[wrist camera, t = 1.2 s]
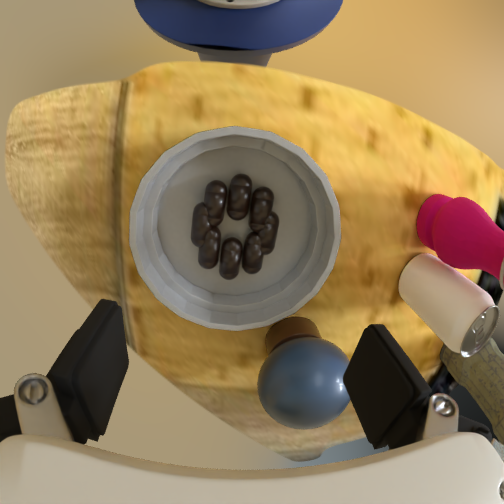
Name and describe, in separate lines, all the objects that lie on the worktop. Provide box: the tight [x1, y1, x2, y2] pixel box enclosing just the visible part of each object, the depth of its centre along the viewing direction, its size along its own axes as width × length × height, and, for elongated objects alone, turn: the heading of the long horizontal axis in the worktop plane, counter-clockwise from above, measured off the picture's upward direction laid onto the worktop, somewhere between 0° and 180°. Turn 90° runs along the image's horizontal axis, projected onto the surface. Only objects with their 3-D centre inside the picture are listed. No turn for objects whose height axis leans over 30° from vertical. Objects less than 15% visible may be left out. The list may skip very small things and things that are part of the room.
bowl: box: [129, 126, 341, 331], centre depth 22 cm, size 16×16×4 cm
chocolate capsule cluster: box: [191, 173, 279, 280], centre depth 23 cm, size 9×7×2 cm
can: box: [399, 253, 500, 358], centre depth 22 cm, size 6×6×12 cm
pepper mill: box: [417, 194, 504, 290], centre depth 16 cm, size 7×7×20 cm
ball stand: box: [257, 317, 351, 429], centre depth 24 cm, size 9×9×12 cm
